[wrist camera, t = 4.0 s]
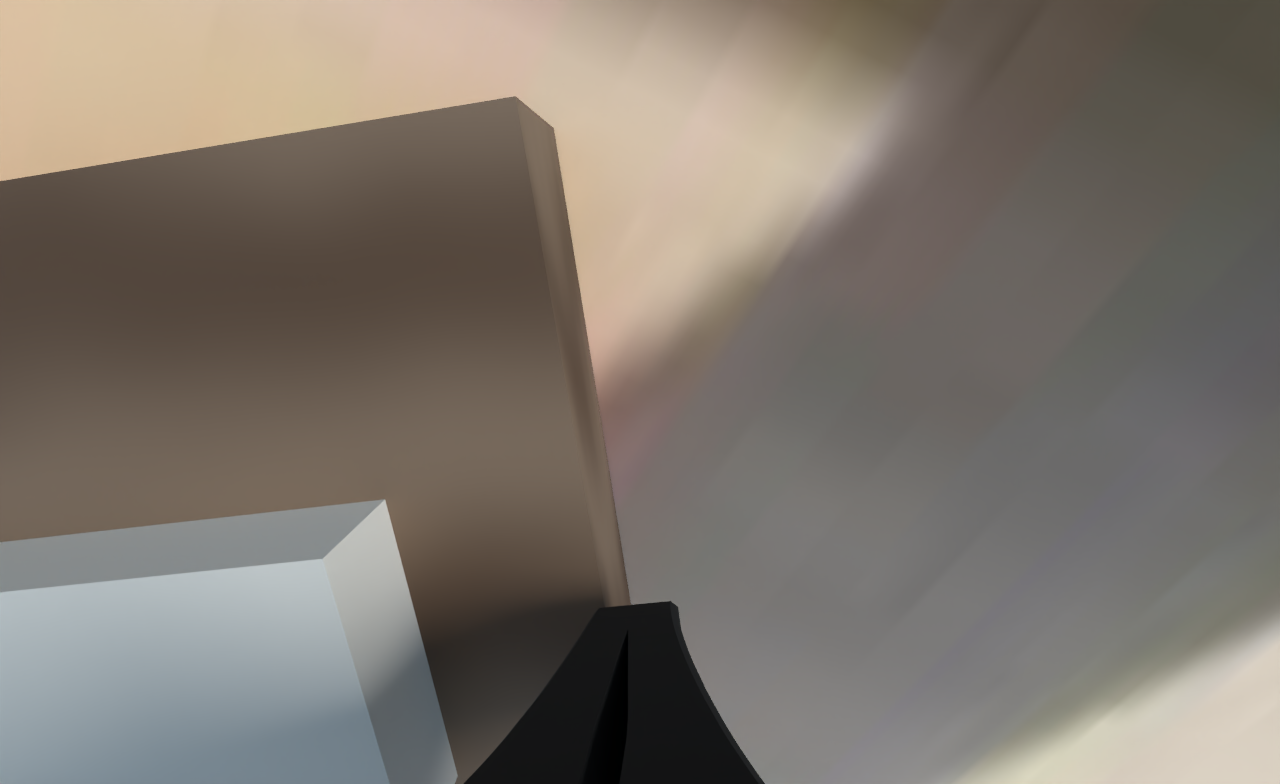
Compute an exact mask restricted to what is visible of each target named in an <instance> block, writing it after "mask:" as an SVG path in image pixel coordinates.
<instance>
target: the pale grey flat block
mask: <svg viewBox="0 0 1280 784" xmlns="http://www.w3.org/2000/svg"><path fill="white" fill-rule="evenodd" d="M457 777H458V775H457V771H456V767H455V763H454V760H453V756H452V752H451V748H450V744H449V741H448V737H447V733H446V729H445V725H444V722H443V718H442V714H441V710H440V706H439V703H438V699H437V695H436V691H435V687H434V684H433V680H432V676H431V672H430V668H429V665H428V661H427V657H426V653H425V649H424V645H423V642H422V638H421V634H420V630H419V626H418V623H417V619H416V615H415V611H414V607H413V604H412V600H411V596H410V592H409V588H408V585H407V581H406V577H405V573H404V569H403V566H402V562H401V558H400V554H399V550H398V547H397V543H396V539H395V535H394V531H393V528H392V524H391V520H390V516H389V512H388V509H387V505H386V501H385V499H384V500H375V501H366V502H357V503H348V504H339V505H330V506H321V507H312V508H303V509H294V510H285V511H276V512H267V513H258V514H249V515H240V516H231V517H222V518H213V519H204V520H195V521H187V522H178V523H169V524H160V525H151V526H142V527H133V528H124V529H115V530H106V531H97V532H88V533H79V534H70V535H61V536H52V537H43V538H34V539H25V540H16V541H7V542H0V784H455V782H456V779H457Z"/></svg>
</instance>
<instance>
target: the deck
mask: <svg viewBox="0 0 1280 784" xmlns="http://www.w3.org/2000/svg"><path fill="white" fill-rule="evenodd" d="M384 499H385V501H386V505H387V509H388V512H389V516H390V520H391V524H392V528H393V531H394V535H395V539H396V543H397V547H398V550H399V554H400V558H401V562H402V566H403V569H404V573H405V577H406V581H407V585H408V588H409V592H410V596H411V600H412V604H413V607H414V611H415V615H416V619H417V623H418V626H419V630H420V634H421V638H422V642H423V645H424V649H425V653H426V657H427V661H428V665H429V668H430V672H431V676H432V680H433V684H434V687H435V691H436V695H437V699H438V703H439V706H440V710H441V714H442V718H443V722H444V725H445V729H446V733H447V737H448V741H449V744H450V748H451V752H452V756H453V760H454V763H455V767H456V771H457V775H458V777H457V779H456V782H455V784H464V782H465V781H466V780H467V779H468V778H469V777H470V776H471V775H472V774H473V773H474V772H475V771H476V770H477V769H478V768H479V767H480V766H481V764H482V763H483V762H484V761H485V760H486V759H487V758H488V757H489V756H490V754H491V753H492V752H493V751H494V750H495V749H496V748H497V746H498V745H499V744H500V743H501V742H502V741H503V739H504V738H505V737H506V736H507V735H508V733H509V732H510V731H511V730H512V728H513V727H514V726H515V725H516V723H517V722H518V721H519V720H520V718H521V717H522V716H523V715H524V713H525V712H526V711H527V710H528V708H529V707H530V706H531V705H532V703H533V702H534V701H535V700H536V698H537V697H538V696H539V694H540V693H541V692H542V690H543V689H544V687H545V686H546V685H547V683H548V682H549V680H550V679H551V678H552V676H553V675H554V673H555V672H556V671H557V669H558V668H559V666H560V665H561V664H562V662H563V661H564V659H565V658H566V656H567V655H568V653H569V652H570V650H571V649H572V647H573V646H574V644H575V643H576V641H577V640H578V638H579V637H580V635H581V633H582V632H583V630H584V629H585V627H586V626H587V624H588V622H589V621H590V619H591V618H592V616H593V615H594V613H595V612H596V611H597V610H598V609H599V608H603V607H614V606H625V605H631V603H630V597H629V590H628V584H627V578H626V572H625V566H624V560H623V553H622V547H621V541H620V535H619V529H618V523H617V516H616V510H615V504H614V498H613V492H612V486H611V479H610V473H609V467H608V461H607V455H606V449H605V442H604V436H603V430H602V424H601V418H600V412H599V405H598V399H597V393H596V387H595V381H594V375H593V368H592V362H591V356H590V350H589V344H588V338H587V332H586V325H585V319H584V313H583V307H582V301H581V295H580V288H579V282H578V276H577V270H576V264H575V258H574V251H573V245H572V239H571V233H570V227H569V221H568V214H567V208H566V202H565V196H564V190H563V184H562V177H561V171H560V165H559V159H558V153H557V147H556V140H555V134H554V128H553V127H552V126H550V125H549V124H548V123H547V122H546V121H544V120H543V119H542V118H541V117H540V116H538V115H537V114H536V113H535V112H534V111H532V110H531V109H530V108H529V107H528V106H526V105H525V104H524V103H523V102H522V101H520V100H519V99H518V98H517V97H516V96H515V97H509V98H503V99H497V100H491V101H485V102H479V103H473V104H467V105H461V106H454V107H448V108H442V109H436V110H430V111H424V112H418V113H412V114H406V115H400V116H394V117H388V118H382V119H376V120H370V121H363V122H357V123H351V124H345V125H339V126H333V127H327V128H321V129H315V130H309V131H303V132H297V133H291V134H285V135H279V136H273V137H266V138H260V139H254V140H248V141H242V142H236V143H230V144H224V145H218V146H212V147H206V148H200V149H194V150H188V151H182V152H176V153H169V154H163V155H157V156H151V157H145V158H139V159H133V160H127V161H121V162H115V163H109V164H103V165H97V166H91V167H85V168H79V169H72V170H66V171H60V172H54V173H48V174H42V175H36V176H30V177H24V178H18V179H12V180H6V181H0V542H7V541H16V540H25V539H34V538H43V537H52V536H61V535H70V534H79V533H88V532H97V531H106V530H115V529H124V528H133V527H142V526H151V525H160V524H169V523H178V522H187V521H195V520H204V519H213V518H222V517H231V516H240V515H249V514H258V513H267V512H276V511H285V510H294V509H303V508H312V507H321V506H330V505H339V504H348V503H357V502H366V501H375V500H384Z"/></svg>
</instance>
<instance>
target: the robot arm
mask: <svg viewBox="0 0 1280 784" xmlns="http://www.w3.org/2000/svg"><path fill="white" fill-rule="evenodd" d="M464 784H765V783H764V782H763V781H762V779H761V778H760V777H759V775H758V774H757V772H756V771H755V769H754V768H753V766H752V765H751V764H750V762H749V761H748V759H747V758H746V756H745V755H744V753H743V752H742V750H741V749H740V747H739V746H738V744H737V743H736V741H735V740H734V738H733V736H732V735H731V733H730V731H729V730H728V728H727V727H726V725H725V723H724V721H723V720H722V718H721V716H720V714H719V713H718V711H717V709H716V707H715V706H714V704H713V702H712V700H711V698H710V696H709V694H708V692H707V691H706V689H705V687H704V684H703V682H702V680H701V678H700V676H699V674H698V672H697V670H696V668H695V665H694V663H693V661H692V659H691V656H690V654H689V651H688V649H687V646H686V643H685V640H684V637H683V634H682V631H681V626H680V618H679V611H678V607H677V606H676V605H675V604H673V603H672V602H671V601H669V602H658V603H647V604H636V605H625V606H614V607H603V608H599V609H598V610H597V611H596V612H595V613H594V615H593V616H592V618H591V619H590V621H589V622H588V624H587V626H586V627H585V629H584V630H583V632H582V633H581V635H580V637H579V638H578V640H577V641H576V643H575V644H574V646H573V647H572V649H571V650H570V652H569V653H568V655H567V656H566V658H565V659H564V661H563V662H562V664H561V665H560V666H559V668H558V669H557V671H556V672H555V673H554V675H553V676H552V678H551V679H550V680H549V682H548V683H547V685H546V686H545V687H544V689H543V690H542V692H541V693H540V694H539V696H538V697H537V698H536V700H535V701H534V702H533V703H532V705H531V706H530V707H529V708H528V710H527V711H526V712H525V713H524V715H523V716H522V717H521V718H520V720H519V721H518V722H517V723H516V725H515V726H514V727H513V728H512V730H511V731H510V732H509V733H508V735H507V736H506V737H505V738H504V739H503V741H502V742H501V743H500V744H499V745H498V746H497V748H496V749H495V750H494V751H493V752H492V753H491V754H490V756H489V757H488V758H487V759H486V760H485V761H484V762H483V763H482V764H481V766H480V767H479V768H478V769H477V770H476V771H475V772H474V773H473V774H472V775H471V776H470V777H469V778H468V779H467V780H466V781H465V782H464Z"/></svg>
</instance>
